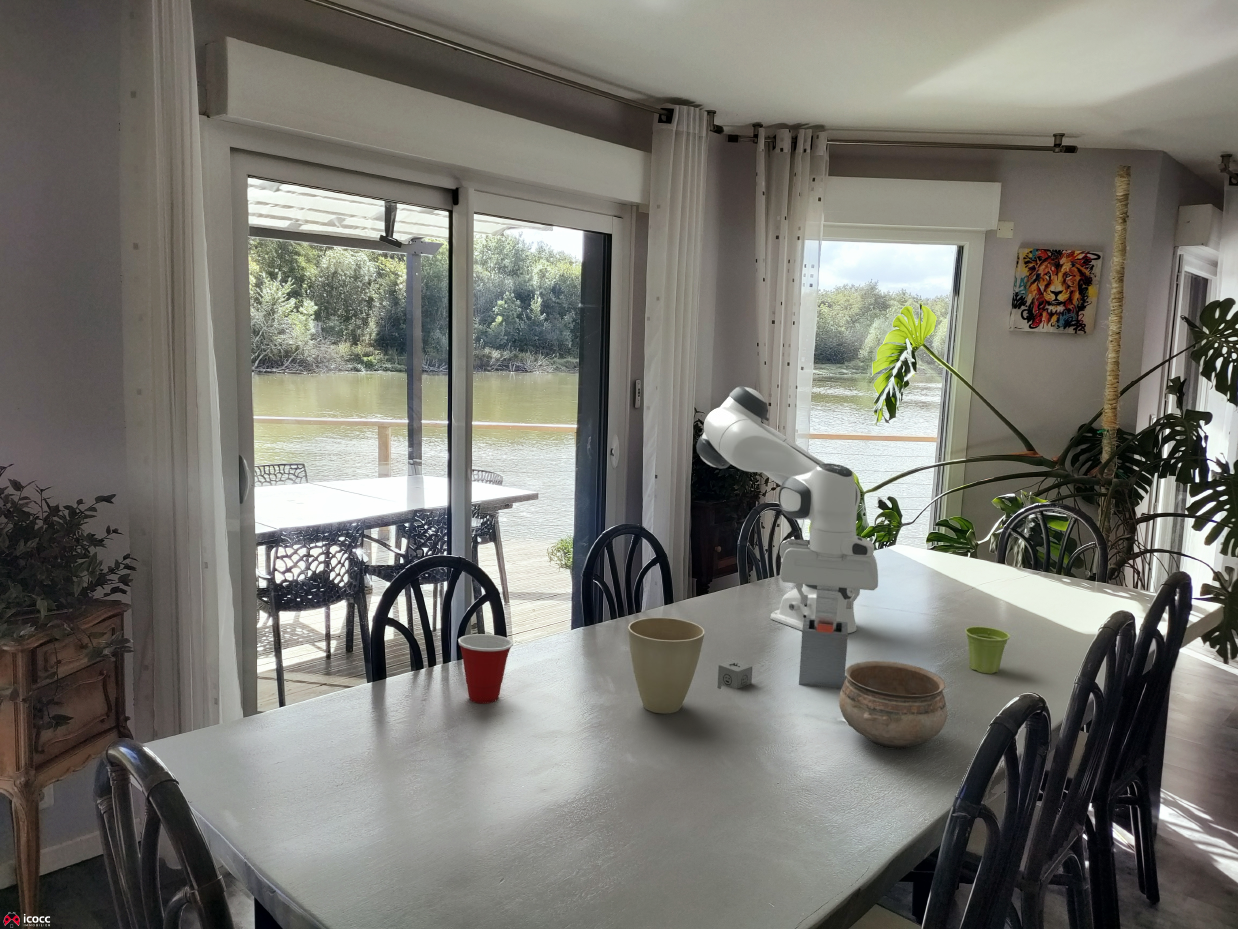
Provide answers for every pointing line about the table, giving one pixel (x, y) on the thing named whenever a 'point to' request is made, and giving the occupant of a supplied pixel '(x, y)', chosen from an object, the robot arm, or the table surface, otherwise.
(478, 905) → the table surface
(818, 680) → the sleeve
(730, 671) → the dice cube
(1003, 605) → the table surface
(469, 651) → the plastic cup
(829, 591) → the column
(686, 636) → the plant pot
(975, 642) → the plant pot
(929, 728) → the cooking pot
